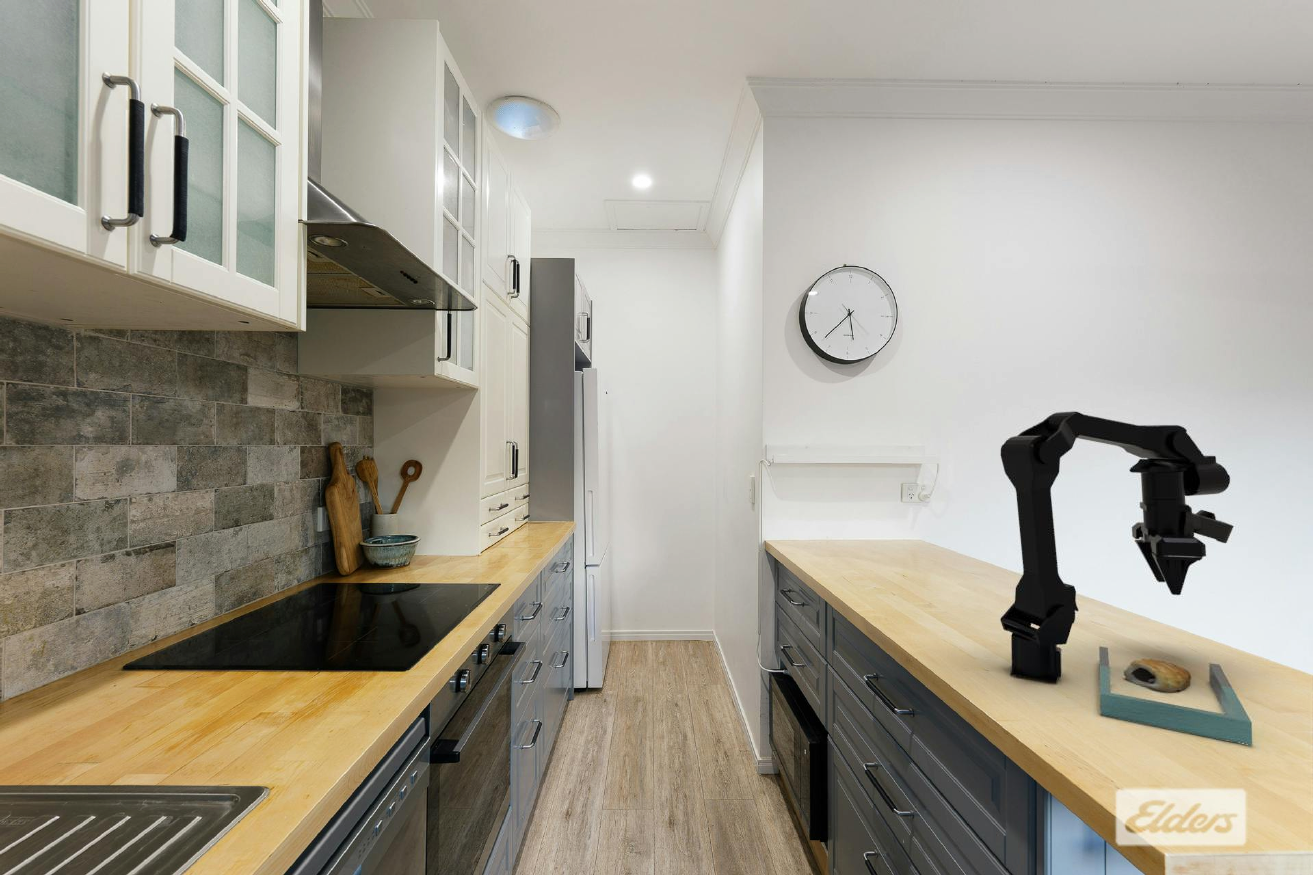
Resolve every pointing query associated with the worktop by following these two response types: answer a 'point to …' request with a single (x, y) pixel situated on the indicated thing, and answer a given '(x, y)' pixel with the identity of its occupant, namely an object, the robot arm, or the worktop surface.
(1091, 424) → the robot arm
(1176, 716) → the rail pocket
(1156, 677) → the pastry
